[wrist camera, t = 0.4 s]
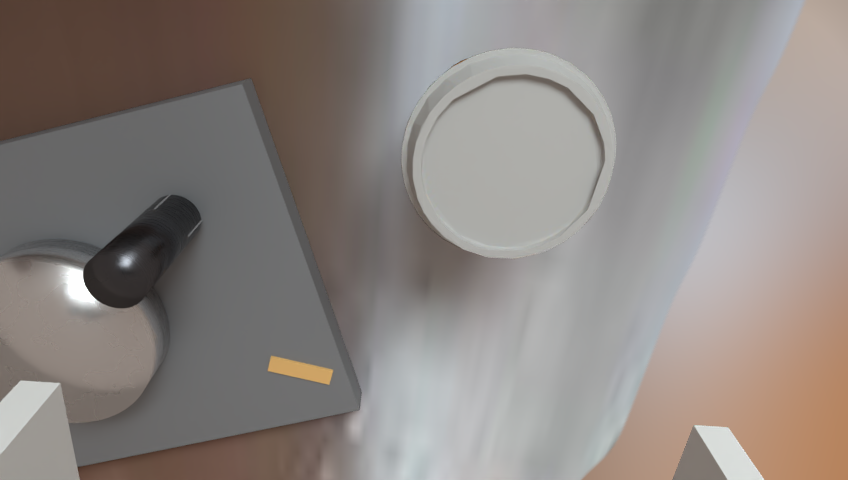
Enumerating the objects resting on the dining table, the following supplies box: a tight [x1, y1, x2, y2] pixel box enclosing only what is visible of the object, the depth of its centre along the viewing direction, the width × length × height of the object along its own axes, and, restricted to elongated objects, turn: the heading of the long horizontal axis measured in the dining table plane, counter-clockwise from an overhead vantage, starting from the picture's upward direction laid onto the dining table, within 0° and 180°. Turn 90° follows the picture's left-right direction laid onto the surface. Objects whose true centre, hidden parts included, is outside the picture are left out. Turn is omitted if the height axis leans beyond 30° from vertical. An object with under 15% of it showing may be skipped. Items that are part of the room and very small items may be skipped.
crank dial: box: [0, 194, 202, 423], centre depth 34 cm, size 18×12×8 cm, turn 133°
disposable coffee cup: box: [401, 48, 616, 259], centre depth 30 cm, size 10×10×12 cm
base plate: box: [0, 78, 362, 467], centre depth 40 cm, size 24×30×2 cm
